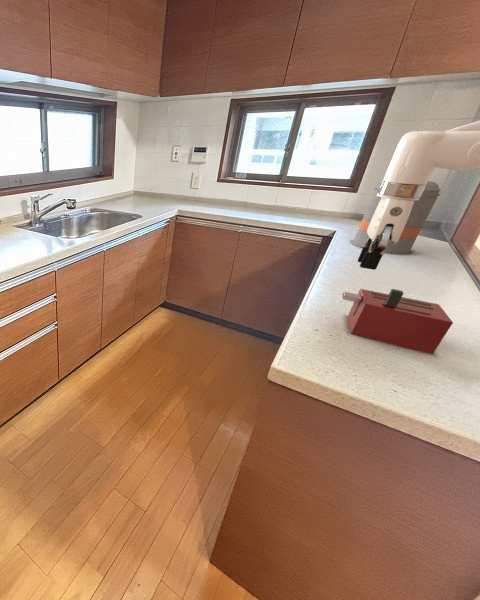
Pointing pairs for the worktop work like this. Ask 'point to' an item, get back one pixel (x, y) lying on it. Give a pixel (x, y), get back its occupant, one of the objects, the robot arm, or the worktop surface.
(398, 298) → the slider
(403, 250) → the storage container
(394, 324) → the toaster
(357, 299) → the brushed metal plate
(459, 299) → the worktop surface
